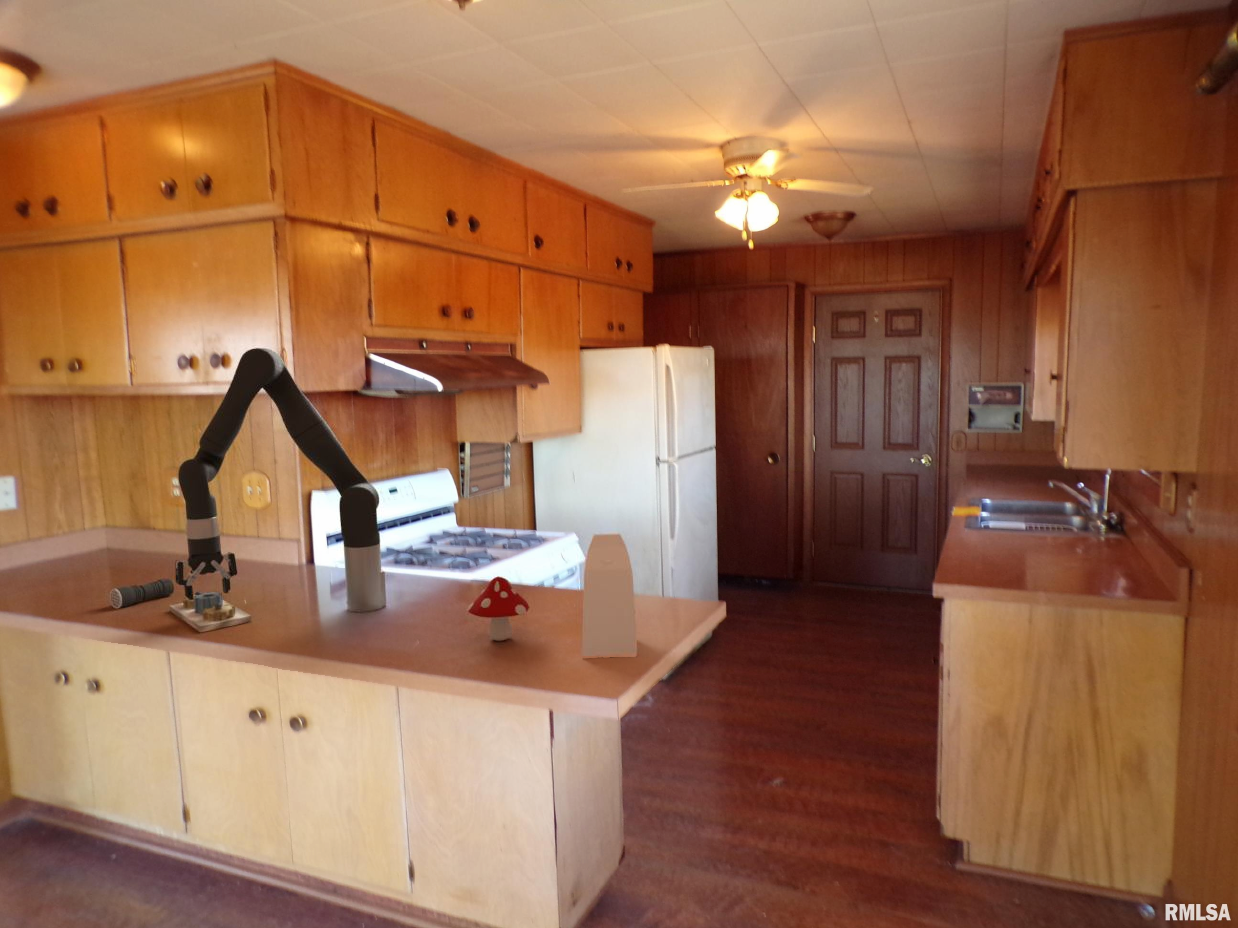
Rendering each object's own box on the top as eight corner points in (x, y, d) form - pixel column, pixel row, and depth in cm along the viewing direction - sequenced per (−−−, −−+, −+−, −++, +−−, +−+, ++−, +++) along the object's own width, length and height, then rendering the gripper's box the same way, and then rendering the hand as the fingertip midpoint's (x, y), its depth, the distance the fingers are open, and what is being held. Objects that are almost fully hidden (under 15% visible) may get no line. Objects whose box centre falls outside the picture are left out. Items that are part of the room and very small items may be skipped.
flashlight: (165, 593, 237) (164, 575, 236) (176, 596, 234) (175, 577, 233) (110, 607, 224) (108, 587, 223) (121, 609, 221) (119, 590, 220)
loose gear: (218, 605, 217) (217, 590, 217) (226, 610, 213) (225, 595, 212) (191, 610, 213) (190, 595, 212) (199, 615, 208) (198, 600, 208)
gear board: (217, 601, 226) (216, 583, 226) (251, 621, 208) (249, 601, 207) (169, 610, 218) (168, 592, 218) (200, 632, 199) (198, 611, 199)
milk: (634, 639, 188) (632, 528, 185) (637, 657, 177) (635, 539, 174) (582, 641, 188) (579, 530, 185) (581, 658, 177) (579, 540, 174)
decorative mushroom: (543, 638, 191) (541, 575, 189) (497, 653, 180) (495, 587, 179) (504, 626, 200) (502, 566, 198) (458, 640, 190) (455, 577, 188)
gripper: (177, 541, 203) (183, 604, 205) (237, 532, 213) (242, 593, 215) (168, 537, 208) (174, 599, 210) (227, 528, 218) (232, 588, 220)
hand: (208, 595), depth 212 cm, fingers open, 8 cm apart
